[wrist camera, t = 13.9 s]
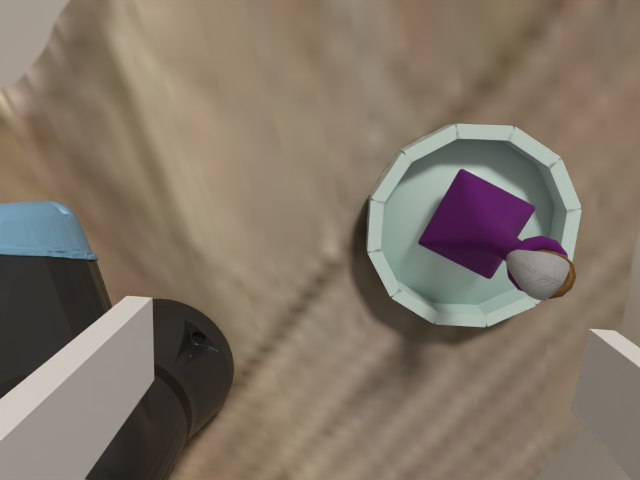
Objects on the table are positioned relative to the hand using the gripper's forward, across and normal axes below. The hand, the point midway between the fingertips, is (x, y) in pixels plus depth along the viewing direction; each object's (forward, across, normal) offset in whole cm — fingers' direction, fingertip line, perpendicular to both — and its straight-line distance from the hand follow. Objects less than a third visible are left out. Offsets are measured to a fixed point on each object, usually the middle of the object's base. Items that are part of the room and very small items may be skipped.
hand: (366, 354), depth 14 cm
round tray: (+30, +12, -1) cm, 33 cm away
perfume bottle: (+30, +12, -1) cm, 32 cm away
